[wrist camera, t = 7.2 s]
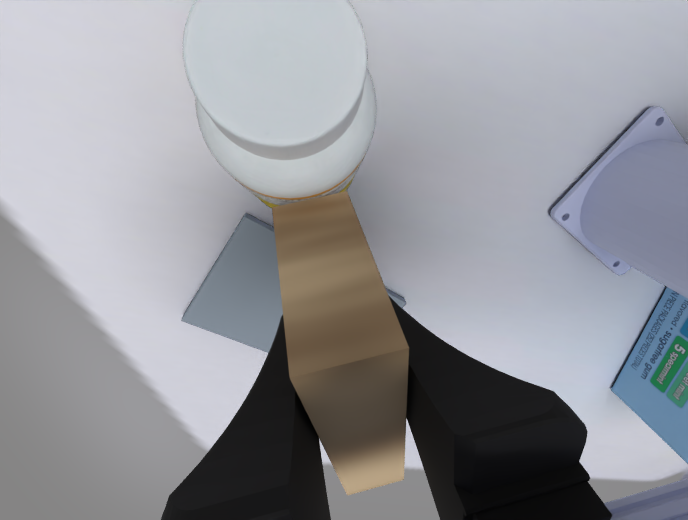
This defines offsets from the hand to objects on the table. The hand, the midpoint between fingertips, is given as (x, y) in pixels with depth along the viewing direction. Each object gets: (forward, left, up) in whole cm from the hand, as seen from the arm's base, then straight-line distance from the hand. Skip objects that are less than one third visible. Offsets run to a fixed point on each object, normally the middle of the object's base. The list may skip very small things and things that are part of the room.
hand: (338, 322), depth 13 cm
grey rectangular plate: (-2, +5, -9) cm, 10 cm away
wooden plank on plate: (-1, 0, -2) cm, 2 cm away
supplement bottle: (+3, -3, -8) cm, 9 cm away
